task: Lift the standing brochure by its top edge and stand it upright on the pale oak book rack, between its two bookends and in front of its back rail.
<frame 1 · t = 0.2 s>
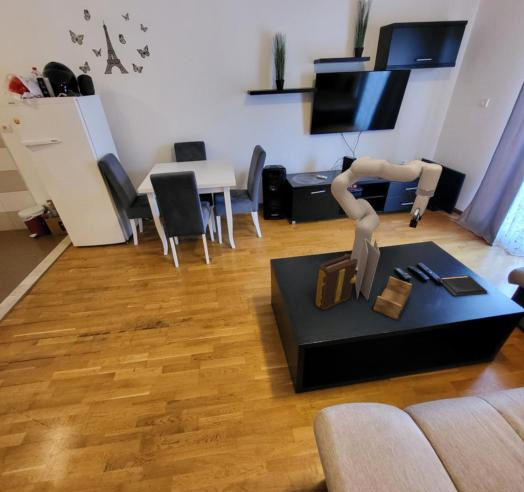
hand: (414, 223, 140), 37 cm above the table, tool pointing down, fingers open, 9 cm apart
brochure: (361, 291, 153), on the table
rack: (390, 303, 145), on the table
book: (334, 300, 148), on the table
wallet: (461, 286, 155), on the table
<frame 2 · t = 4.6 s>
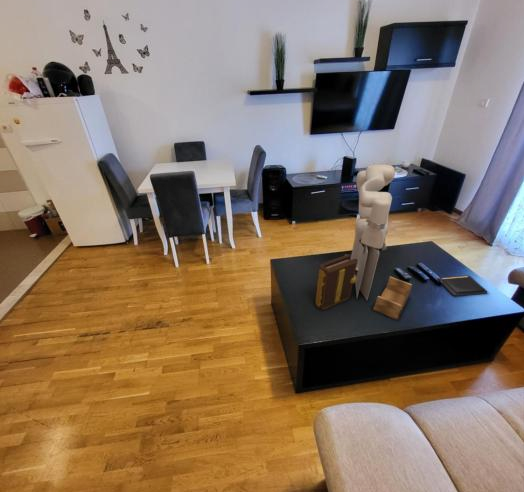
hand: (369, 255, 140), 24 cm above the table, tool pointing down, fingers closed on brochure, 3 cm apart
brochure: (361, 291, 153), on the table, touching gripper
everything else where it was.
when the fingers open (25 cm above the table, at t = 10.8 s): brochure stays where it is, resting on rack.
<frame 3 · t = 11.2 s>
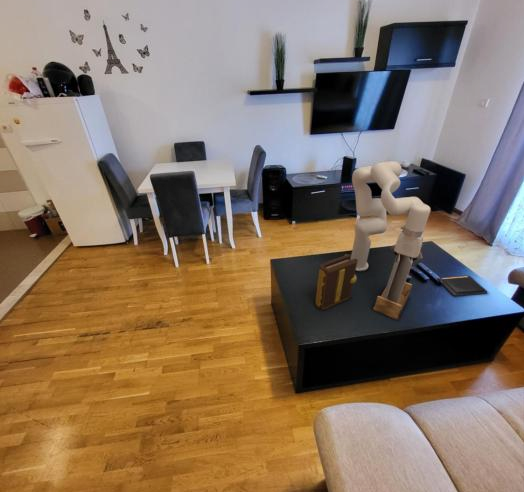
hand: (402, 264, 132), 25 cm above the table, tool pointing down, fingers open, 3 cm apart
brochure: (389, 301, 145), point 1 cm above the table, touching gripper, rack
everything else where it was.
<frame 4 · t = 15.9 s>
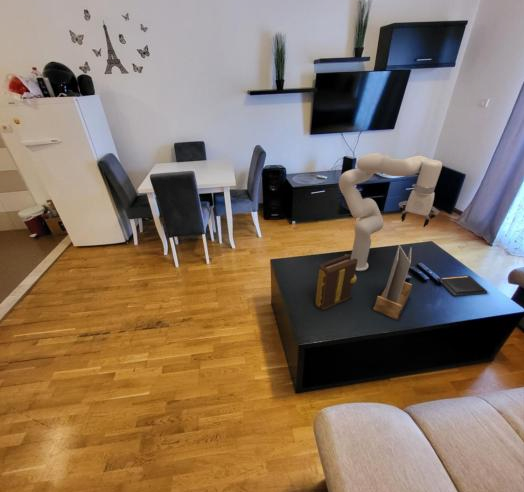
hand: (413, 223, 133), 40 cm above the table, tool pointing down, fingers open, 9 cm apart
brochure: (389, 301, 145), point 1 cm above the table, touching rack
everything else where it was.
at the end: rack 0.0 cm from the target spot, on the table; brochure inside the target area on the rack (0.8 cm from its centre), point 1.0 cm above the rack's base; brochure tilted 0° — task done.
